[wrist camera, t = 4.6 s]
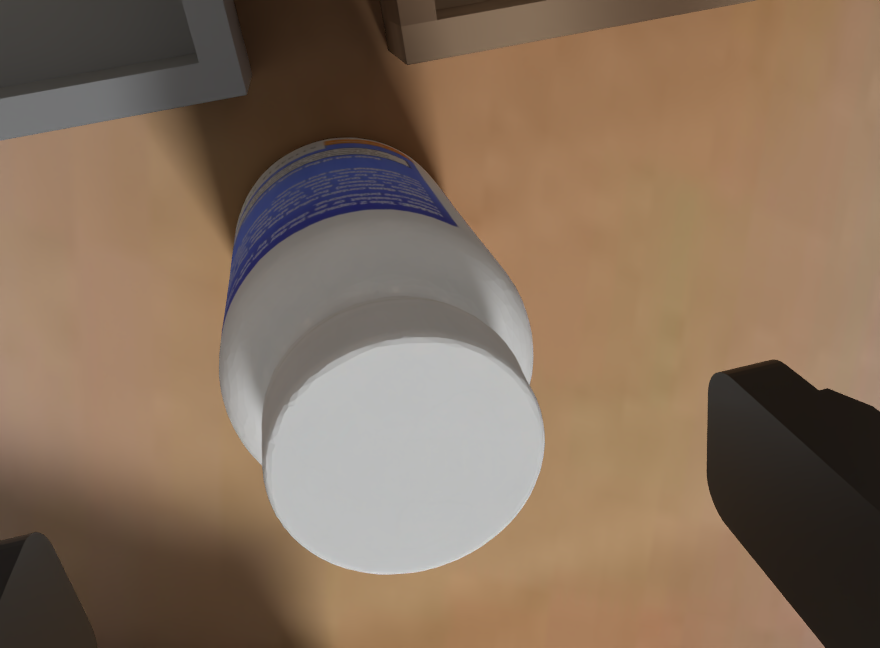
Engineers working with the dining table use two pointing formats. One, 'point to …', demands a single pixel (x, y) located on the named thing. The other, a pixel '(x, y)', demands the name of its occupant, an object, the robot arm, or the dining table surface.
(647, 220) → the dining table surface
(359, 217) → the pill bottle
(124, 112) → the tray left
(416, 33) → the tray right
